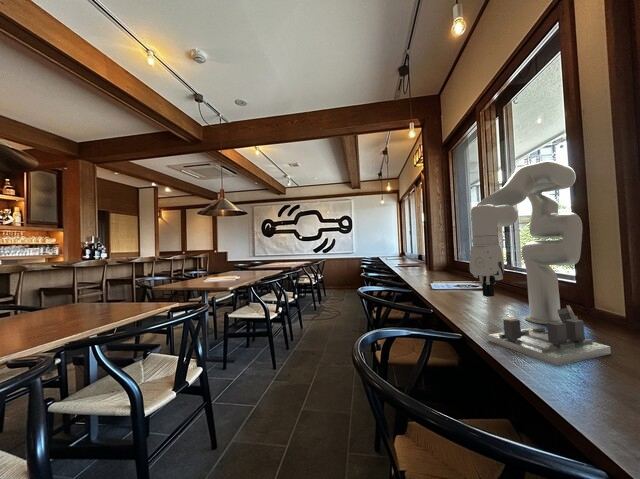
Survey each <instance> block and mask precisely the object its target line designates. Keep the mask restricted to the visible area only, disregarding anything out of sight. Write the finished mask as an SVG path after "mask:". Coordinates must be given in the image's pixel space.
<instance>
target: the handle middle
mask: <svg viewBox="0 0 640 479" xmlns="http://www.w3.org/2000/svg"><path fill="white" fill-rule="evenodd" d="M546 326H547V329H546V330H548V341H549V342H550V343H554V344H557V345H560V344H563V343H567V332H566V324H565V323H560V322H550V323H547V324H546Z"/></svg>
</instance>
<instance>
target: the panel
mask: <svg viewBox="0 0 640 479" xmlns="http://www.w3.org/2000/svg"><path fill="white" fill-rule="evenodd" d="M487 340H488V342H490V341H491V343H492V344H495V345H499V346H502V347H504V348H507V349H511V350H513V351H516V352H518V353H521V354H524V355H526V356H529V357H532V358H535V359H538V360H540V361H543V362H546V363H548V364H551V365H553V366H557V367H558V366H563V365H567V364H572V363H576V362H580V361H585V360H590V359H594V358H600V357H603V356H607V355H611V354H612V352H611V346H609V345H606V344H602V343H598V342H594V341H593V339H592V338H585V339H584V340H579V341H573V340H569V339H567V343H563V344H560V345H557V344H554V343H550V342H549V341H548V329H546V327H544V326H539V327H536V326H533V327H526V328H521V338H519V339H513V340H512V339H509V338H506V337H505V335H504V331H502V332H501V331H500V332H497V333H496V332H495V333H491V334H487Z"/></svg>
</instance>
